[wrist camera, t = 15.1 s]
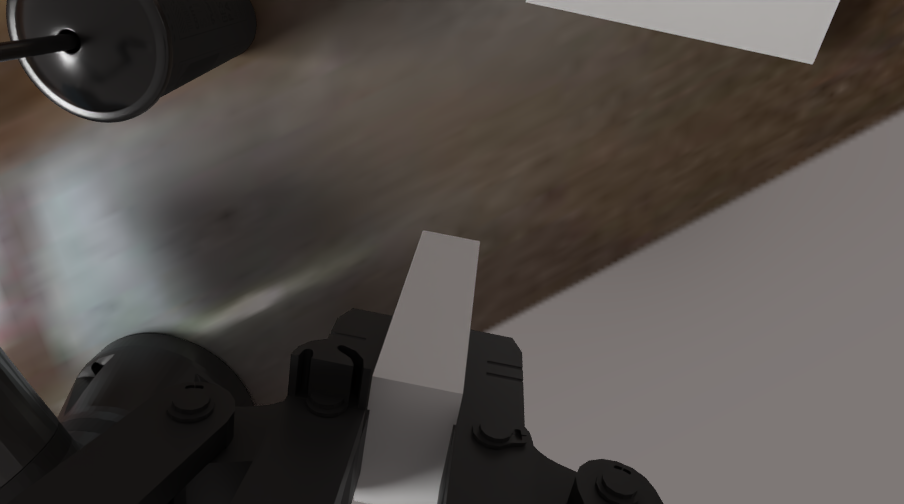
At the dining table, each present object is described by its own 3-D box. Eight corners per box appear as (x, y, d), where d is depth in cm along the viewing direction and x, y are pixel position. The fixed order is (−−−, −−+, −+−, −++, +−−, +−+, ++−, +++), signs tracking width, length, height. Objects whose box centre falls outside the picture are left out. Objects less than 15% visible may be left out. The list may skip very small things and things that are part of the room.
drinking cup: (268, -49, 39) (41, -66, 21) (285, 78, 42) (99, 159, 24) (152, -45, 40) (-164, -59, 22) (177, 79, 43) (-82, 159, 25)
